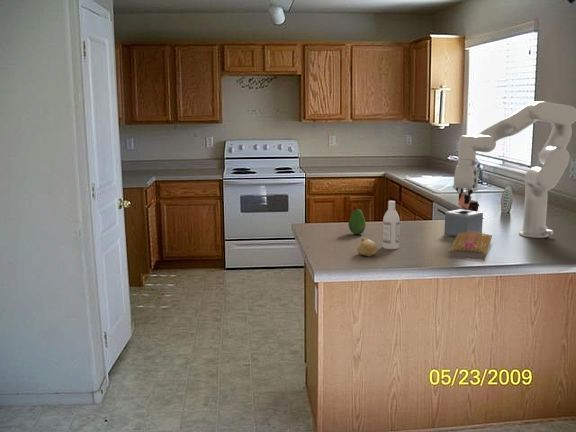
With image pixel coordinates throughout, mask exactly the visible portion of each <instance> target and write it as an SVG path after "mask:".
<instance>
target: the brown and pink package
mask: <svg viewBox="0 0 576 432" xmlns="http://www.w3.org/2000/svg"><path fill="white" fill-rule="evenodd" d="M466 233H467V234H466ZM468 233H469V234H468ZM479 234H480V235H479ZM457 237H458V238H457ZM457 237H456V238H455V239H454V241H453V242H452V244H451V246H450V247H449V248H448V251H450V258H451V259H452V258H454V259H455V258H456V259H465V260H477V261H485V259H486V256H487V254H488V250H489V248H490V245H491V241H492V238H493V235H491V234H489V233H488V234H487V233H484V232H482V233H479V232H477V233H476V232H464V233H458V235H457Z"/></svg>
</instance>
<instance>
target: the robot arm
mask: <svg viewBox="0 0 576 432" xmlns="http://www.w3.org/2000/svg"><path fill="white" fill-rule="evenodd" d="M537 121H539V122H546V123H550V125H551V131H550V134H549V136H548V138H547V141H545V144H544V145H543V147H542V149H541V150H540V152H539V154H538V160H539V162H540V164H541V165H542V166H541V167H540V166H534V167H531V168H529V169H528V170H527V171H526V173H525V174H524V175H525V176H524V187H525V188H524V189H525V192H524V193H525V194H524V206H523V207H524V208H523V222H522V223H523V225H522V226H523V227H522V230H520V231H519V232H518V235H519V236H521V237H525V238H534V239H544V238H548V237H549V235H550V236H551V235H554V230H553V229H548V227H549V226H546V223H547V209H548V199H549V198H548V197H549V196H548V191H550V190H553V188H555V186H556V185H557V184H558V183H559V181H560V180H561V177H562V176H563V175H564V172H565V171H566V168H567V167H568V165H569V163H570V157H571V156H570V152H569V150H567V147H568V144H569V142H570V141H571V138H572V134H573V130H572V125H573V124H574V123H575V122H576V107H574V106H572V105H569V104H561V103H557V102H550V101H545V100H543V101H542V100H541V101H540V100H539V101H535V100H534V101H531V102H529V103H527V104H526V105H525V106H523V107H521V108H520V109H518V110H517V111H515V112H514V113H512V114H511V115H509V116H508V117H506V118H504V119H501V120H500V121H498V122H496V123H494V124H493V125H491V126H488V127H487V128H486V129H484V130H482V131H481V132H479V133H478V134H477V135H468V134H467V135H465V134H464V135H460V137H459V139H458V153H457V154H458V156H457V157H458V158H457V165H456V167H455V170H454V176H453V185H452V189H454V190H456V192H457V194H458V201H459V200H460V198H461V194H462V193H466V195H465V196H464V198H465V201H464V204H469V202H470V196H471V195H472V194H473V193H475V192H477V191H478V189H479V188H478V183H479V179H478V178H479V173H478V167H477V166H476V165H477V164H478V161H477V160H476V155H477V154H476V153H477V152H478V153H479V152H481V153H491V152H492V151H493V150H495V148H496V145H497V142H498V141H499V140H502V139H504V138H508V137H512V136H514V135H517V134H519V133H521V132H523V131H524V130H525V129H527V128H529V127H530V126H531V125H533V124H535V123H536V122H537ZM464 189H465V192H464Z"/></svg>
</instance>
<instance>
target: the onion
mask: <svg viewBox="0 0 576 432" xmlns="http://www.w3.org/2000/svg"><path fill="white" fill-rule="evenodd" d="M377 250H378V246H377V245H376V242H374V241H373V240H371V239H368V238H367V237H365V238H364V237H362V238H360V242H359V243H357V246H356V251H357V252H358V254H359V255H361V256H365V257H372V256H374V255H375V254H376V253H377V252H378V251H377Z"/></svg>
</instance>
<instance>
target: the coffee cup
mask: <svg viewBox="0 0 576 432" xmlns="http://www.w3.org/2000/svg"><path fill="white" fill-rule="evenodd" d="M478 202H479V201H477V200H473V199H471V201H470V204H469V208H468V209H463V208H461V209H463V210H470V211H477V212H479V207H480V204H479V203H478Z"/></svg>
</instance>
